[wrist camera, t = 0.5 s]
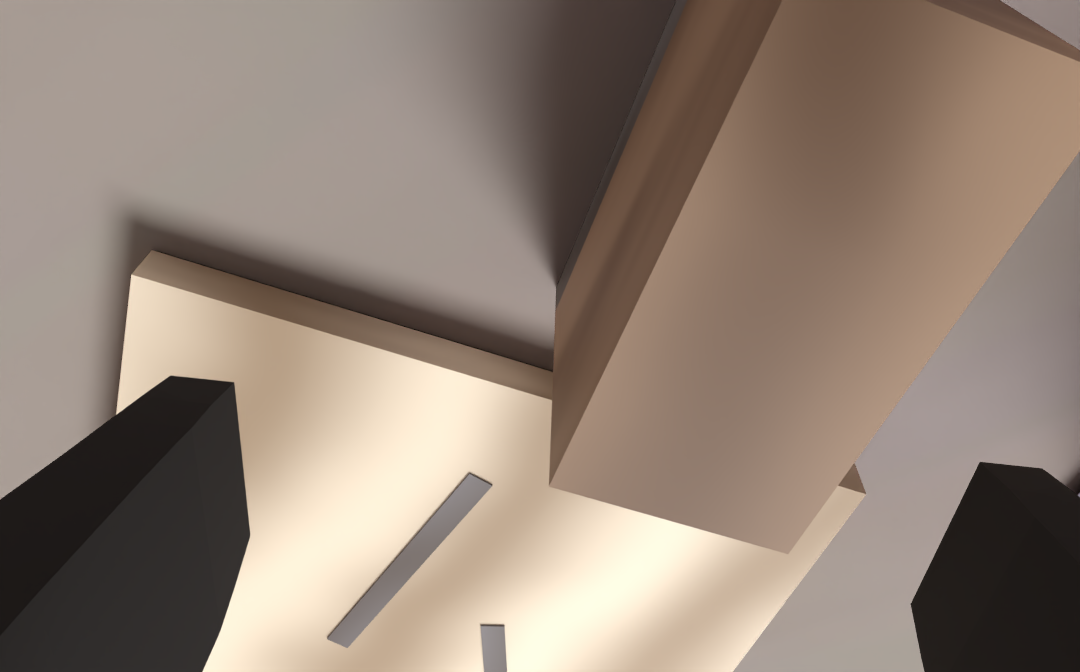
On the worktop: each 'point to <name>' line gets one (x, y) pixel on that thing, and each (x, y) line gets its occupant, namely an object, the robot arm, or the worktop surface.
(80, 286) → the worktop surface
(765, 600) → the board
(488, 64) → the worktop surface
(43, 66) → the worktop surface
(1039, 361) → the worktop surface
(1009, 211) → the block
